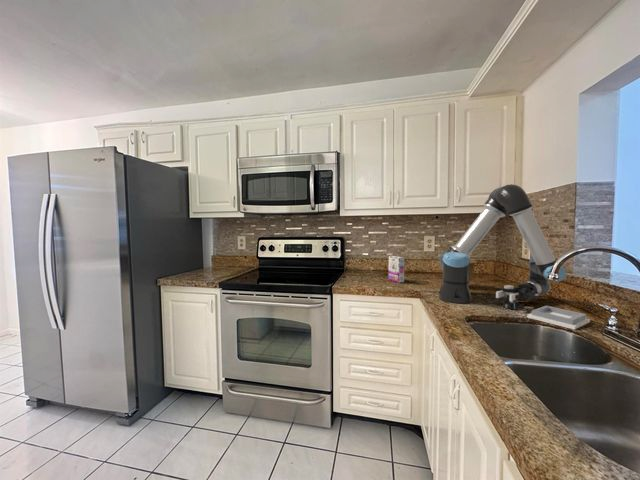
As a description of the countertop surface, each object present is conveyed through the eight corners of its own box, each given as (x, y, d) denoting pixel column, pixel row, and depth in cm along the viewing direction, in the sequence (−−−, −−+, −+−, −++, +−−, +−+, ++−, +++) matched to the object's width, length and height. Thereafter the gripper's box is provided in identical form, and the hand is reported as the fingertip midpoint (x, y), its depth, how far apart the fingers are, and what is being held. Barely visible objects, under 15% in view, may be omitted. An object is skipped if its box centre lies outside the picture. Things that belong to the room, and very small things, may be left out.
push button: (498, 305, 129) (497, 284, 129) (510, 305, 129) (509, 284, 129) (507, 309, 123) (506, 287, 122) (519, 309, 123) (518, 286, 122)
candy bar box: (404, 282, 178) (405, 257, 177) (398, 283, 176) (399, 257, 175) (393, 279, 188) (394, 255, 187) (387, 279, 187) (388, 255, 185)
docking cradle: (527, 317, 113) (527, 310, 113) (543, 311, 121) (544, 304, 120) (574, 329, 100) (575, 321, 100) (589, 322, 108) (590, 314, 108)
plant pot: (441, 284, 173) (442, 259, 172) (463, 283, 175) (464, 258, 174) (456, 290, 158) (457, 262, 157) (480, 289, 160) (481, 262, 159)
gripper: (550, 301, 127) (526, 310, 115) (508, 293, 143) (482, 299, 131) (551, 285, 127) (527, 292, 115) (508, 278, 142) (483, 284, 130)
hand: (503, 296), depth 123 cm, fingers closed on push button, 5 cm apart
